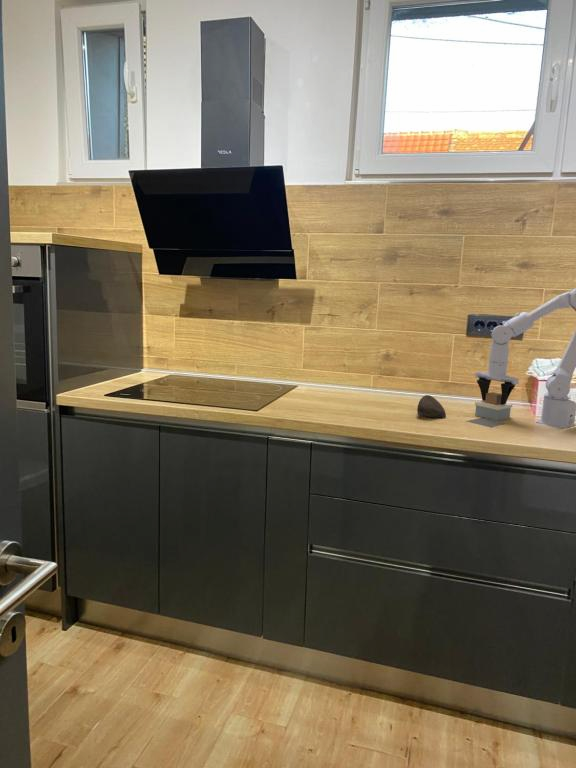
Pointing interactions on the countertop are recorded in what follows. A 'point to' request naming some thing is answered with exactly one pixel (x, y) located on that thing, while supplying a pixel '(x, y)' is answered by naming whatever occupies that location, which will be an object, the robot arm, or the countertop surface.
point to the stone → (430, 408)
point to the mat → (486, 422)
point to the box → (492, 413)
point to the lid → (493, 402)
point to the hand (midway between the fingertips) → (493, 402)
